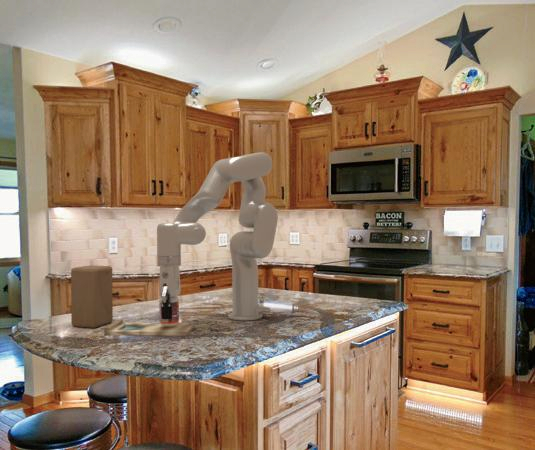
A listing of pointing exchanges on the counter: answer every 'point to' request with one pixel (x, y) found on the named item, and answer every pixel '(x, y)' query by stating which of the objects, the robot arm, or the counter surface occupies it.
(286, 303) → the counter surface
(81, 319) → the wooden block
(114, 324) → the board
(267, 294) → the counter surface
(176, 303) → the pill bottle
